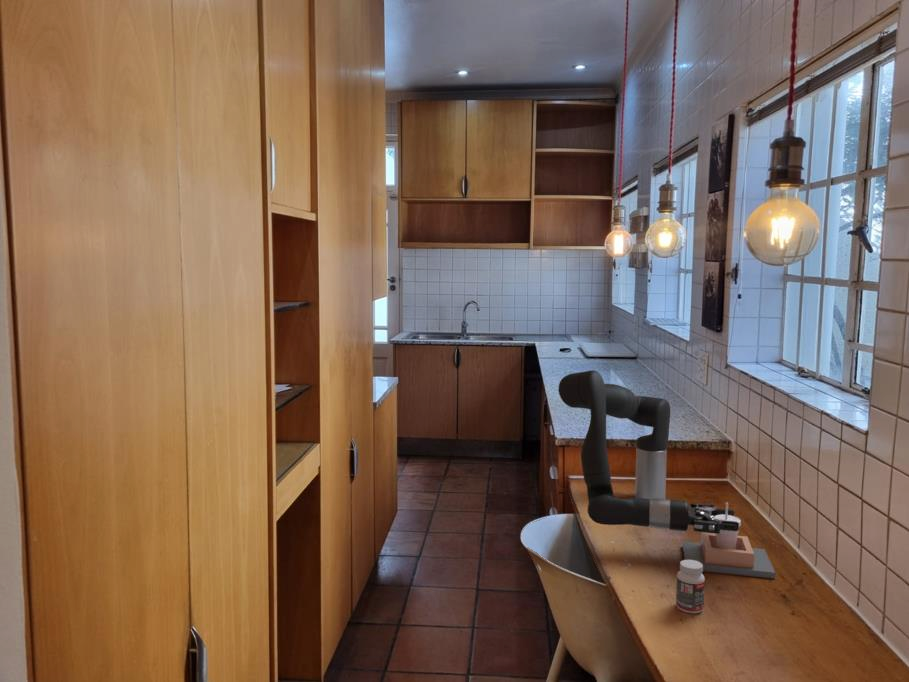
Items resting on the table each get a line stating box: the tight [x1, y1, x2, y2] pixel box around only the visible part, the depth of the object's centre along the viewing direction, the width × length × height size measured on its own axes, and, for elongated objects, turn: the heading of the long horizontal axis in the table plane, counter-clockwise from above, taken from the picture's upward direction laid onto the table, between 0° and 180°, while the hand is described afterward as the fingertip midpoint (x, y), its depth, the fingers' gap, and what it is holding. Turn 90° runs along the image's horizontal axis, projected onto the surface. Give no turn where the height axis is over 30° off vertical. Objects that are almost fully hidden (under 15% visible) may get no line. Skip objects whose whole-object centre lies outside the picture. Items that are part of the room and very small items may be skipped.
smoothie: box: [714, 502, 742, 550], centre depth 169 cm, size 6×6×14 cm
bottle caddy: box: [682, 532, 776, 580], centre depth 170 cm, size 14×20×5 cm
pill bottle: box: [675, 559, 706, 614], centre depth 147 cm, size 6×6×10 cm
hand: (736, 520), depth 168 cm, fingers open, 8 cm apart
